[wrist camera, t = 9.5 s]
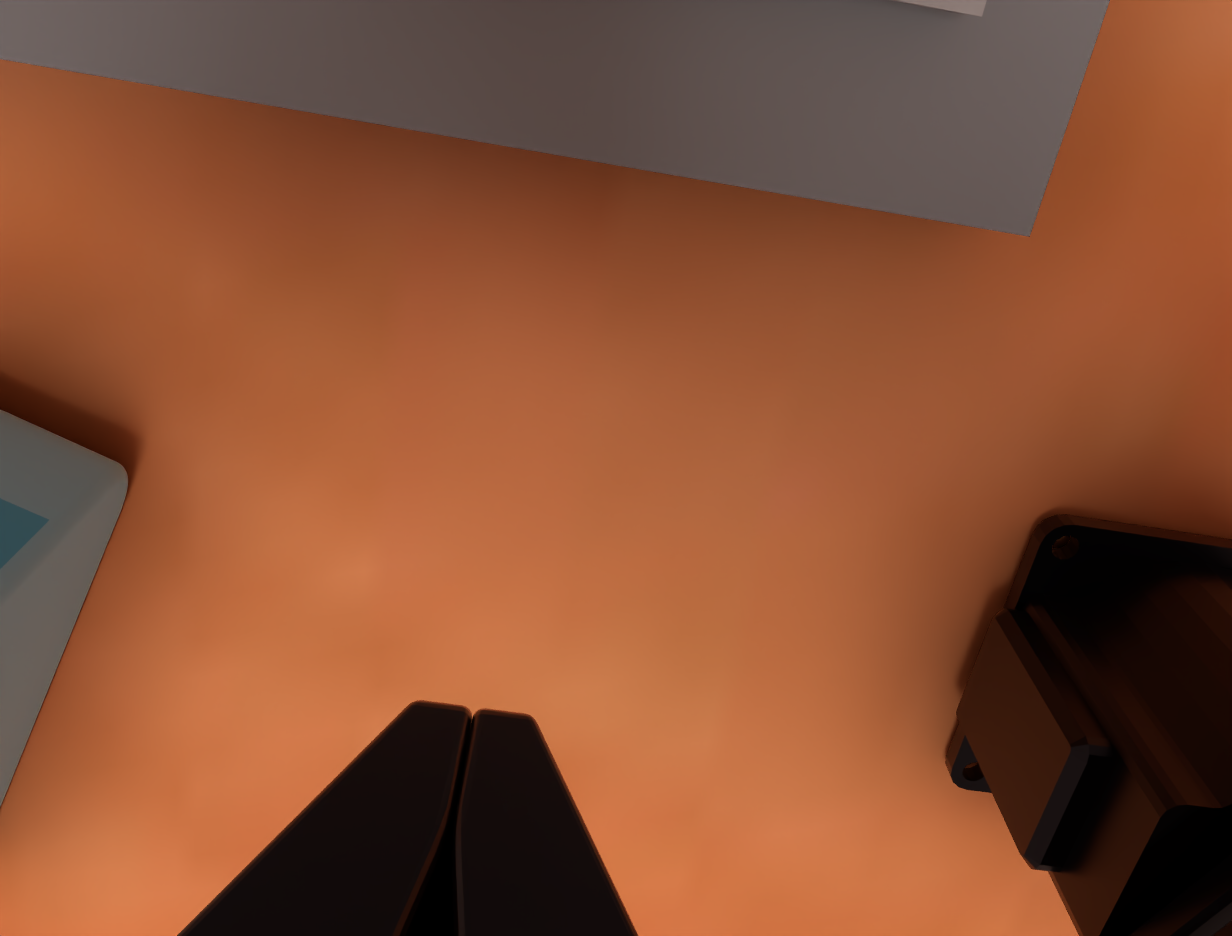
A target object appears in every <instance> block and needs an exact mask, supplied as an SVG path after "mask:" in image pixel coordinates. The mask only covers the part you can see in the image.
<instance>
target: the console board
mask: <svg viewBox="0 0 1232 936" xmlns="http://www.w3.org/2000/svg"><path fill="white" fill-rule="evenodd" d="M1109 1H1110V0H0V59H3V60H9V61H14V62H20V63H26V64H32V65H38V66H43V67H49V68H55V69H61V70H67V71H72V72H78V73H84V74H90V75H96V76H101V77H107V78H113V79H119V80H125V81H130V82H136V83H142V84H148V85H153V86H159V87H165V88H171V89H177V90H182V91H188V92H194V93H200V94H206V95H211V96H217V97H223V98H229V99H235V100H240V101H246V102H252V103H258V104H264V105H269V106H275V107H281V108H287V109H293V110H298V111H304V112H310V113H316V114H322V115H327V116H333V117H339V118H345V119H351V120H356V121H362V122H368V123H374V124H379V125H385V126H391V127H397V128H403V129H408V130H414V131H420V132H426V133H432V134H437V135H443V136H449V137H455V138H461V139H466V140H472V141H478V142H484V143H490V144H495V145H501V146H507V147H513V148H519V149H524V150H530V151H536V152H542V153H548V154H553V155H559V156H565V157H571V158H576V159H582V160H588V161H594V162H600V163H605V164H611V165H617V166H623V167H629V168H634V169H640V170H646V171H652V172H658V173H663V174H669V175H675V176H681V177H687V178H692V179H698V180H704V181H710V182H716V183H721V184H727V185H733V186H739V187H745V188H750V189H756V190H762V191H768V192H774V193H779V194H785V195H791V196H797V197H802V198H808V199H814V200H820V201H826V202H831V203H837V204H843V205H849V206H855V207H860V208H866V209H872V210H878V211H884V212H889V213H895V214H901V215H907V216H913V217H918V218H924V219H930V220H936V221H942V222H947V223H953V224H959V225H965V226H971V227H976V228H982V229H988V230H994V231H1000V232H1005V233H1011V234H1017V235H1023V236H1028V237H1030V234H1031V231H1032V228H1033V225H1034V222H1035V219H1036V216H1037V213H1038V210H1039V207H1040V204H1041V201H1042V199H1043V196H1044V193H1045V190H1046V187H1047V184H1048V181H1049V178H1050V175H1051V172H1052V169H1053V166H1054V163H1055V160H1056V157H1057V154H1058V151H1059V148H1060V146H1061V143H1062V140H1063V137H1064V134H1065V131H1066V128H1067V125H1068V122H1069V119H1070V116H1071V113H1072V110H1073V107H1074V104H1075V101H1076V98H1077V96H1078V93H1079V90H1080V87H1081V84H1082V81H1083V78H1084V75H1085V72H1086V69H1087V66H1088V63H1089V60H1090V57H1091V54H1092V51H1093V48H1094V46H1095V43H1096V40H1097V37H1098V34H1099V31H1100V28H1101V25H1102V22H1103V19H1104V16H1105V13H1106V10H1107V7H1108V4H1109Z"/></svg>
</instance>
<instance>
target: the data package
mask: <svg viewBox="0 0 1232 936" xmlns="http://www.w3.org/2000/svg"><path fill="white" fill-rule="evenodd" d="M127 488H128V475H127V472H126V470H125V469H124V467H123V466H122V465H121V464H120V463H118V462H116V461H114V460H111V459H109V458H107V457H105V456H103V455H100V454H98V453H96V452H94V451H92V450H89V449H87V448H85V447H83V446H80V445H78V444H76V443H74V442H72V441H69V440H67V439H65V438H63V437H61V436H58V435H56V434H54V433H52V432H50V431H47V430H45V429H43V428H41V427H38V426H36V425H34V424H32V423H30V422H27V421H25V420H23V419H21V418H19V417H16V416H14V415H12V414H10V413H8V412H5V411H3V410H1V409H0V807H1V804H2V802H3V799H4V797H5V794H6V792H7V789H8V787H9V784H10V782H11V780H12V777H13V775H14V772H15V770H16V767H17V765H18V762H19V760H20V757H21V755H22V753H23V750H24V748H25V745H26V743H27V740H28V738H29V735H30V733H31V730H32V728H33V726H34V723H35V721H36V718H37V716H38V713H39V711H40V708H41V706H42V703H43V701H44V698H45V696H46V694H47V691H48V689H49V686H50V684H51V681H52V679H53V676H54V674H55V671H56V669H57V667H58V664H59V662H60V659H61V657H62V654H63V652H64V649H65V647H66V644H67V642H68V640H69V637H70V635H71V632H72V630H73V627H74V625H75V622H76V620H77V617H78V615H79V613H80V610H81V608H82V605H83V603H84V600H85V598H86V595H87V593H88V590H89V588H90V585H91V583H92V581H93V578H94V576H95V573H96V571H97V568H98V566H99V563H100V561H101V558H102V556H103V554H104V551H105V549H106V546H107V544H108V541H109V539H110V536H111V534H112V531H113V529H114V527H115V524H116V522H117V519H118V517H119V514H120V512H121V509H122V506H123V503H124V500H125V497H126V493H127Z"/></svg>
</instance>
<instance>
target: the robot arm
mask: <svg viewBox="0 0 1232 936" xmlns="http://www.w3.org/2000/svg"><path fill="white" fill-rule="evenodd" d="M1063 536H1071V539H1070V541H1069V542H1068V543H1067V545H1065V546H1063V547H1061V548H1058V549H1052V546H1053V544H1054V543H1055V542H1056V540H1058V539H1060V538H1061V537H1063ZM956 715H957V718H958V720H959V724H958V727H957V729H956V732H955V735H954V737H953V740H952V742H951V745H950V747H949V750H948V753H947V755H946V761H945V763H946V766H947V768H948V771H949V773H950V776H951V778H952V780H953V783H955V784H956V785H957V786H958V787H960V788H963V789H966V790H973V791H981V792H988V793H992V794H993V796H994V798H995V801H996V803H997V805H998V807H999V809H1000V811H1001V814H1002V816H1003V818H1004V820H1005V822H1006V824H1007V827H1008V829H1009V831H1010V833H1011V835H1012V837H1013V840H1014V842H1015V844H1016V846H1017V848H1018V850H1019V853H1020V854H1021V856H1022V857H1023V859H1024V860H1025V861H1026V863H1027V864H1028V865H1029V867H1030V868H1031V869H1035V870H1043V871H1048V872H1049V874H1050V876H1051V878H1052V881H1053V883H1054V885H1055V887H1056V889H1057V891H1058V893H1059V895H1060V897H1061V899H1062V901H1063V903H1064V905H1065V907H1066V910H1067V912H1068V914H1069V916H1070V918H1071V920H1072V922H1073V924H1074V926H1075V928H1076V930H1077V932H1078V934H1079V936H1232V540H1231V539H1224V538H1218V537H1211V536H1205V535H1198V534H1191V533H1185V532H1178V531H1172V530H1165V529H1158V528H1152V527H1145V526H1139V525H1132V524H1125V523H1119V522H1112V521H1106V520H1099V519H1092V518H1086V517H1079V516H1073V515H1055V516H1052V517H1049V518H1047V519H1045V520H1044V521H1043V522H1041V523H1040V524H1039V525H1038V526H1037V527H1036V529H1035V531H1034V532H1033V534H1032V536H1031V539H1030V542H1029V544H1028V547H1027V549H1026V552H1025V554H1024V557H1023V560H1022V562H1021V565H1020V567H1019V570H1018V572H1017V575H1016V578H1015V580H1014V583H1013V585H1012V588H1011V590H1010V593H1009V596H1008V598H1007V601H1006V603H1005V606H1004V609H1002V610H1000V611H999V612H998V613H997V614H996V615H995V616H994V617H993V618H992V620H991V623H990V625H989V628H988V630H987V633H986V636H985V638H984V641H983V643H982V646H981V649H980V651H979V654H978V656H977V659H976V662H975V664H974V667H973V669H972V672H971V675H970V677H969V680H968V682H967V685H966V688H965V690H964V693H963V695H962V698H961V701H960V703H959V706H958V708H957V712H956ZM471 721H472V723H471ZM975 762H978V764H977V765H975V766H974V767H972V768H965V767H966V765H968V764H970V763H975ZM177 936H638V934H637V932H636V930H635V928H634V926H633V923H632V921H631V919H630V917H629V915H628V913H627V911H626V909H625V907H624V905H623V902H622V900H621V898H620V896H619V894H618V892H617V890H616V888H615V886H614V884H613V881H612V879H611V877H610V875H609V873H608V871H607V869H606V867H605V865H604V863H603V860H602V858H601V856H600V854H599V852H598V850H597V848H596V846H595V844H594V842H593V839H592V837H591V835H590V833H589V831H588V829H587V827H586V825H585V823H584V821H583V818H582V816H581V814H580V812H579V810H578V808H577V806H576V804H575V802H574V800H573V797H572V795H571V793H570V791H569V789H568V787H567V785H566V783H565V781H564V779H563V776H562V774H561V772H560V770H559V768H558V766H557V764H556V762H555V760H554V758H553V755H552V753H551V751H550V749H549V747H548V745H547V743H546V741H545V739H544V736H543V734H542V732H541V730H540V728H539V726H538V724H537V722H536V721H535V719H534V718H533V717H532V716H530V715H528V714H524V713H516V712H508V711H501V710H493V709H480V710H478V711H476V713H475V714H474V715H473V718H472V714H471V712H470V710H469V709H468V708H467V707H465V706H462V705H454V704H447V703H439V702H431V701H424V700H419V701H415V702H412V703H410V704H409V705H408V706H407V707H406V708H405V709H404V710H403V711H402V712H401V713H400V714H399V715H398V716H397V717H396V718H395V719H394V720H393V721H392V722H391V723H390V724H389V725H388V726H387V727H386V728H385V729H384V730H383V731H382V732H381V733H380V734H379V735H378V736H377V737H376V738H375V739H374V740H373V741H372V742H371V743H370V744H369V745H368V746H367V747H366V748H365V749H364V750H363V751H362V752H361V753H360V754H359V755H358V756H357V757H356V758H355V759H354V760H353V761H352V762H351V763H350V764H349V765H348V766H347V767H346V768H345V769H344V770H343V771H342V772H341V773H340V774H339V775H338V776H337V777H336V778H335V779H334V780H333V781H332V782H331V783H330V784H329V785H328V786H327V787H326V788H325V789H324V790H323V791H322V792H321V793H320V794H319V795H318V796H317V797H316V798H315V799H314V800H313V801H312V802H311V803H310V804H309V805H308V806H307V807H306V808H305V809H304V810H303V811H302V812H301V813H300V814H299V815H298V816H297V817H296V818H295V819H294V820H293V821H292V822H291V823H290V824H289V825H288V826H287V827H286V828H285V829H284V830H283V831H282V832H281V833H280V834H279V835H278V836H277V837H276V838H275V839H274V840H272V841H271V842H270V843H269V844H268V845H267V846H266V847H265V848H264V849H263V850H262V851H261V852H260V853H259V854H258V855H257V856H256V857H255V858H254V859H253V860H252V861H251V862H250V863H249V864H248V865H247V866H246V867H245V868H244V869H243V870H242V871H241V872H240V873H239V874H238V875H237V876H236V877H235V878H234V879H233V880H232V881H231V882H230V883H229V884H228V885H227V886H226V887H225V888H224V889H223V890H222V891H221V892H220V893H219V894H218V895H217V896H216V897H215V898H214V899H213V900H212V901H211V902H210V903H209V904H208V905H207V906H206V907H205V908H204V909H203V910H202V911H201V912H200V913H199V914H198V915H197V916H196V917H195V918H194V919H193V920H192V921H191V922H190V923H189V924H188V925H187V926H186V927H185V928H184V929H183V930H182V931H181V932H180V933H179V934H178V935H177Z"/></svg>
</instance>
